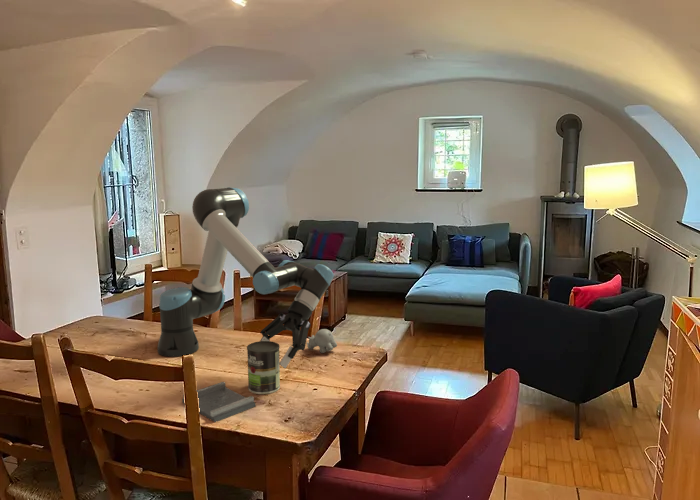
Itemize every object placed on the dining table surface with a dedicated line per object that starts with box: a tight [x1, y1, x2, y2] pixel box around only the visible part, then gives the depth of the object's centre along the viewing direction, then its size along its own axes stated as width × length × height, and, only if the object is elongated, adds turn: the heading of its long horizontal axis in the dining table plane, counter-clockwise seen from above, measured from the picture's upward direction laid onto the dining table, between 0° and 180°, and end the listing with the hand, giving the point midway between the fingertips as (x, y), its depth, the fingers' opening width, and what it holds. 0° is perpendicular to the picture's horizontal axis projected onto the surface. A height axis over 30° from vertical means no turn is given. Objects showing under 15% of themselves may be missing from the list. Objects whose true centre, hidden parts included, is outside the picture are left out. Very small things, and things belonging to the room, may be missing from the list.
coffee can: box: [246, 340, 281, 395], centre depth 178 cm, size 10×10×14 cm
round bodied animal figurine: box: [306, 328, 338, 354], centre depth 212 cm, size 7×12×8 cm, turn 61°
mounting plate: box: [181, 381, 257, 423], centre depth 167 cm, size 18×14×3 cm
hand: (268, 360), depth 178 cm, fingers open, 13 cm apart
